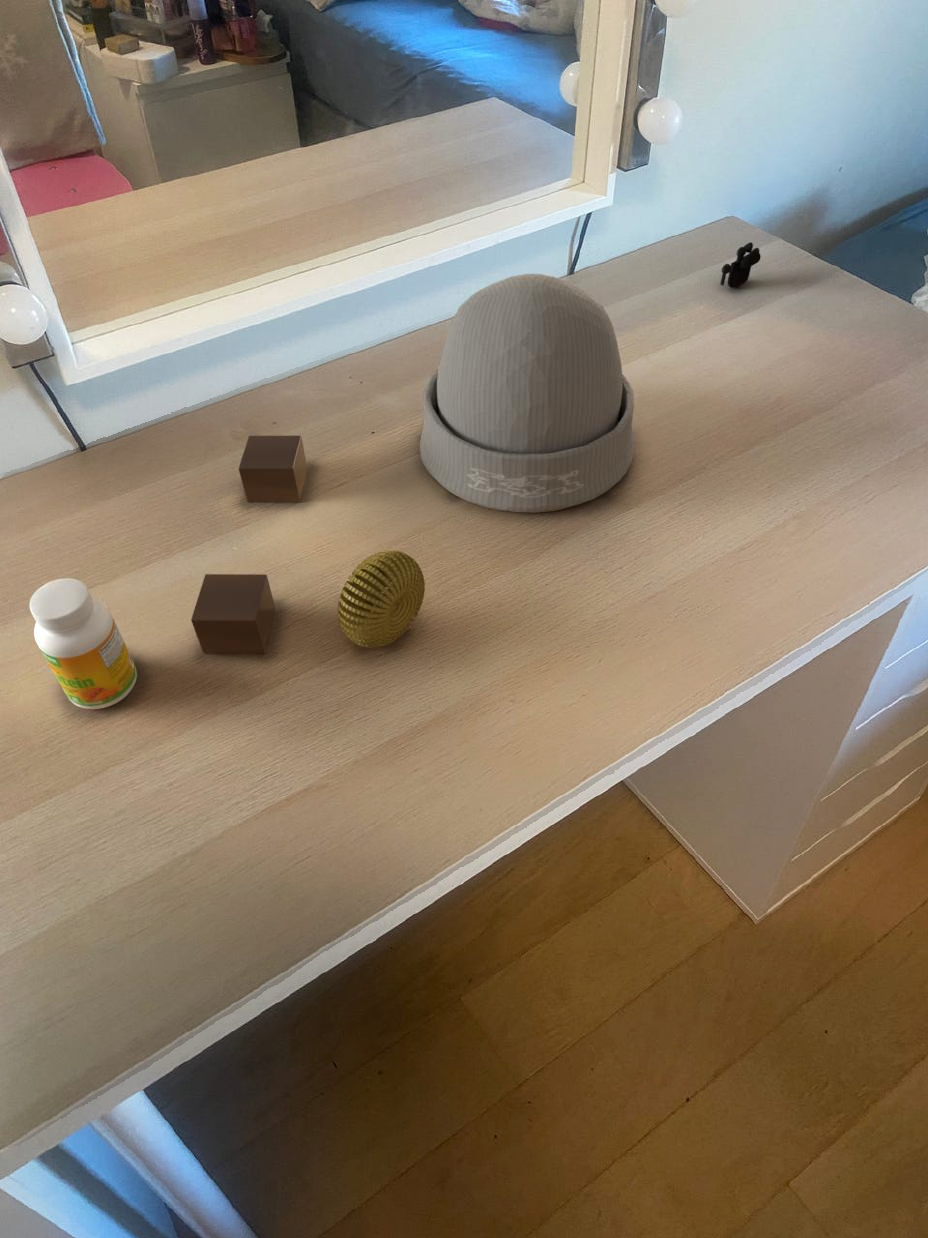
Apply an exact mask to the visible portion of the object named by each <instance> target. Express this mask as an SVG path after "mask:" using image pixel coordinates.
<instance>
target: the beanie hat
mask: <svg viewBox="0 0 928 1238" xmlns="http://www.w3.org/2000/svg"><path fill="white" fill-rule="evenodd" d="M422 399H423V414H424V415H423V416H424V421H423V422H424V423H423V427H422V431H421V436H420V441H419V451H420V458H421V461H422V464H423V465H424V467H425V468H426V470H427V471H428V473H429V474H430V476H431V477H432V478H434V480H435V481H437V483H438V484H439V485H440V486H442V487H443V488H444V489H445V490H446V491H448V492H450V493H451V494H452V495H454V496H456V497H458V498H460V499H462V500H464V501H466V502H468V503H470V504H474V505H477V506H480V507H484V508H487V509H491V510H496V511H502V512H503V511H504V512H510V513H511V512H513V513H532V514H533V513H534V514H535V513H536V514H537V513H544V512H553V511H555V512H556V511H560V510H563V509H567V508H571V507H574V506H579V505H581V504H584V503H586V502H589V501H592V500H594V499H596V498H599V497H600V496H602V495H604V494H605V493H606V492H608V491H609V490H610V489H612V488H613V487H614V486H615V485H617V484H618V483H619V482H620V481H621V480H622V479H623V477H624V476H625V475H626V473H627V472H628V471H629V469H630V466H631V464H632V462H633V460H634V455H635V447H636V441H635V436H634V435H635V434H634V430H633V426H632V425H633V417H634V410H635V402H634V400H635V399H634V390H633V388H632V385H631V383H630V382H629V380H628V378H627V377H626V376H625V375H624V374H623V367H622V360H621V354H620V349H619V345H618V340H617V336H616V332H615V329H614V326H613V323H612V321H611V318H610V316H609V314H608V313H607V311H606V310H605V308H604V306H603V304H601V303H600V302H599V301H598V300H597V299H596V298H595V297H594V296H593V295H591V294H590V293H588V292H586V291H585V290H583V289H581V288H580V287H578V286H576V285H575V284H574V283H571V282H569V281H567V280H563V279H561V278H559V277H556V276H552V275H546V274H543V273H524V274H518V275H512V276H508V277H506V278H503V279H501V280H499V281H496V282H493V283H491V284H489V285H487V286H485V287H484V288H481V289H479V290H478V291H476V292H474V293H472V295H470V296H469V297H468V298H467V299H466V300H465V301H464V302H462V304H460V306H458V309H457V310H456V313H454V316H453V318H452V320H451V322H450V324H449V329H448V332H447V335H446V339H445V342H444V345H443V348H442V352H441V355H440V360H439V366H438V369H436V370H435V372H434V373H433V374H432V375H431V376H430V377H429V378H428V379H427V380H426V382H425V386H424V388H423V397H422Z"/></svg>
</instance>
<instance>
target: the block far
mask: <svg viewBox="0 0 928 1238" xmlns="http://www.w3.org/2000/svg"><path fill="white" fill-rule="evenodd" d="M247 437H248V438H247V441H246V443H245V446H244V450H243V454H242V455H241V459H240V462H239V466H238V471H239V475H240V480H241V483H242V487H243V491H244V495H245V499H246V502H247V503H301V499H302V495H303V490H304V487H305V482H306V477H307V473H308V463H307V459H306V454H305V448H304V443H303V438H302V435H248V436H247Z"/></svg>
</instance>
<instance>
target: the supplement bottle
mask: <svg viewBox="0 0 928 1238" xmlns="http://www.w3.org/2000/svg"><path fill="white" fill-rule="evenodd" d="M29 611H30V613H31V615H32V616H33V619H34V620H35V625H34V629H33V636H34V640H35V642H36V644H37V646H38V648H39V650H40V652H41V653H42V655H43V656H44V658H45V660H46V662H47V664H48V666H49V667H50V669H51V671H52V672H53V674H54V676H55V678H56V680H57V681H58V684H60V686H61V688H62V690H63V692H64V693H65V695H66V697H67V698H68V700H69V701H70V702H71V703H72V704H73V705H75V706H77V707H79V708H81V709H85V710H100V709H105V708H109V707H111V706H113V705H115V704H117V703H119V702H121V701H122V700H123V699H125V698H127V696H128V695H129V694H130V692H132V690H133V688H134V687H135V684H136V682H137V676H138V673H137V666H136V665H135V662H134V660H133V658H132V656H131V653H130V652H129V649H128V647H127V645H126V643H125V641H124V637H123V636H122V634H121V632H120V630H119V628H118V626H117V624H116V621H115V620H114V617H113V615H112V613H111V611H110V610H109V607H107V606H106V604H104V603H103V602H102V601H100V600H98V599H97V598H94V597H93V596H92V594H91V592H90V590H89V589H88V586H87V585H86V584H85V583H84V582H82V581H81V580H79V579H76V578H70V577H66V578H65V577H64V578H63V577H62V578H57V579H54V580H52V581H49V582H47V583H45V584H44V585H42V586H41V587H39V588H38V589H37V590H36V591H35V592H34V593H33V594H32V596H31V598H30V600H29Z"/></svg>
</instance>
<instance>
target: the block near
mask: <svg viewBox="0 0 928 1238" xmlns="http://www.w3.org/2000/svg"><path fill="white" fill-rule="evenodd" d="M272 593H273V592H272V590H271V586H270V582H269V579H268V575H267V574H266V573H265V574H263V573H262V574H259V573H257V574H256V573H255V574H250V573H247V574H244V573H243V574H241V573H239V574H238V573H236V574H235V573H228V574H227V573H221V574H220V573H205V574H204V578H203V580H202V584H201V587H200V590H199V593H198V597H197V599H196V603H195V606H194V609H193V613H192V615H191V619H190V621H191V624H192V627H193V629H194V633H195V635H196V638H197V640H198V643H199V645H200V648H201V651H202V653H203V654H247V655H248V654H252V655H254V654H255V655H256V654H258V655H260V654H262V655H263V654H264V655H265V654H266V650H267V646H268V641H269V638H270V634H271V628H272V625H273V620H274V615H275V610H276V604H275V601H274V597H273V594H272Z"/></svg>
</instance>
